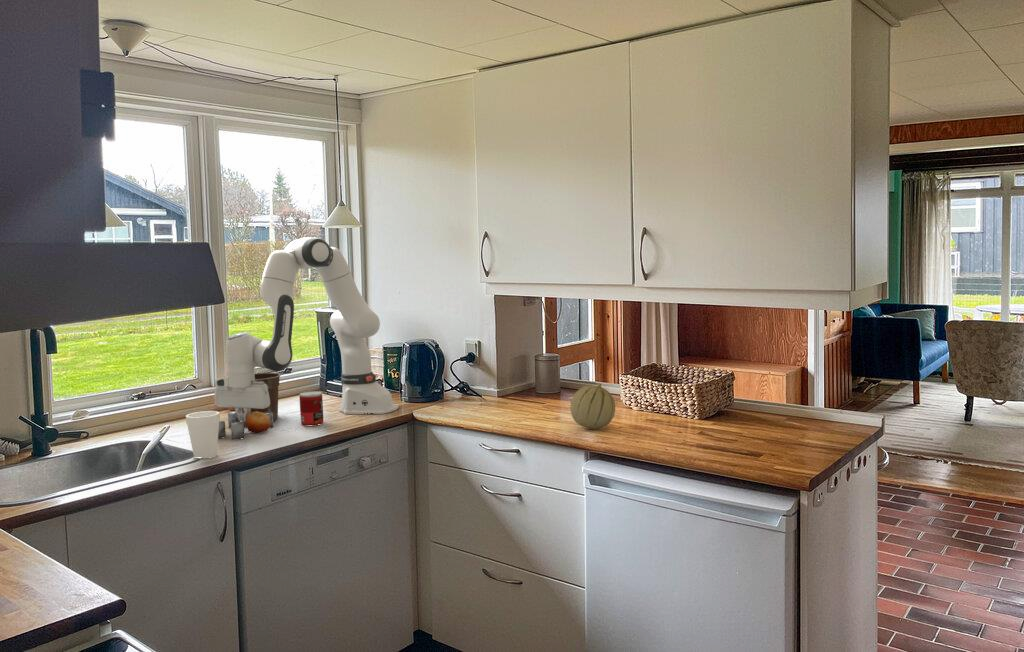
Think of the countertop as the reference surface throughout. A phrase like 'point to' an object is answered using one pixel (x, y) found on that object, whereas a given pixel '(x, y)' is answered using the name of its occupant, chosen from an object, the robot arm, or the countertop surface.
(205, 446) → the foam cup
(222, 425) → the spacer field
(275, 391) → the plant pot
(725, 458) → the countertop surface
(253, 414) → the fruit
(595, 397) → the cantaloupe
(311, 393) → the canned food
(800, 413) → the countertop surface
